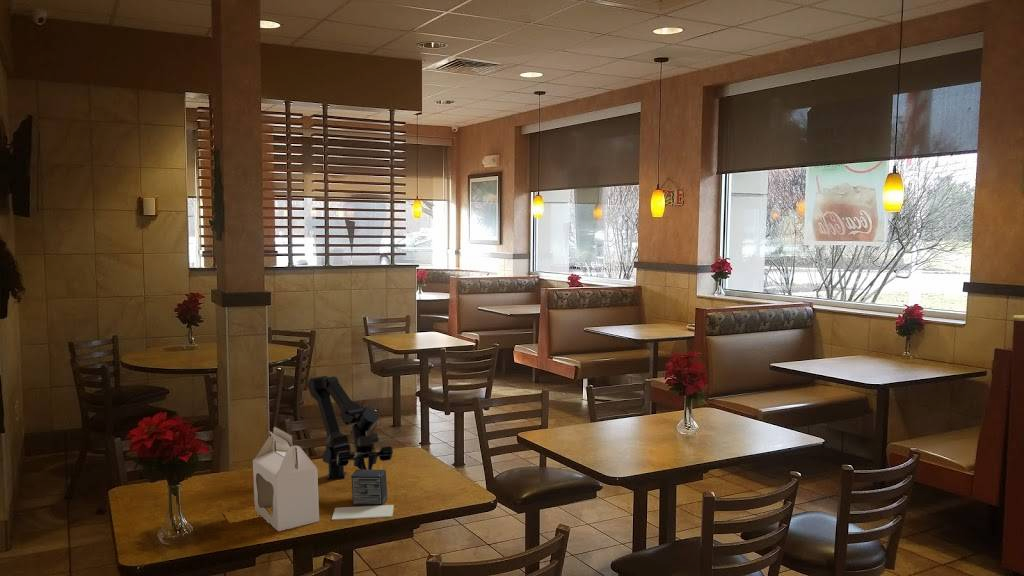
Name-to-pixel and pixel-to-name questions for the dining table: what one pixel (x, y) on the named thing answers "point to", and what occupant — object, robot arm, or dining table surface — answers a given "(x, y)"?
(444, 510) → the dining table surface
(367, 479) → the small box
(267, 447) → the gable box
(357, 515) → the mat
